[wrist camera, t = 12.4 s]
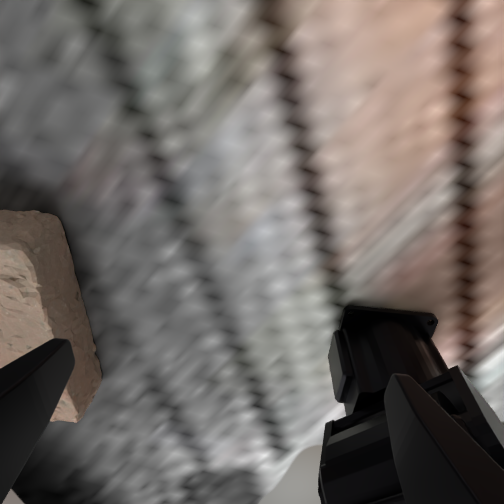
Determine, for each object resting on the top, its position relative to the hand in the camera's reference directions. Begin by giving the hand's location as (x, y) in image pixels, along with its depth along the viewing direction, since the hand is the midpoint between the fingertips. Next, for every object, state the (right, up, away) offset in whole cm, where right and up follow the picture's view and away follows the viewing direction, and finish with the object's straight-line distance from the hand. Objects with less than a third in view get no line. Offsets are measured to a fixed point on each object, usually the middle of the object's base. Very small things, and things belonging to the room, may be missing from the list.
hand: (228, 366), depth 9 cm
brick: (-16, -1, +17) cm, 24 cm away
